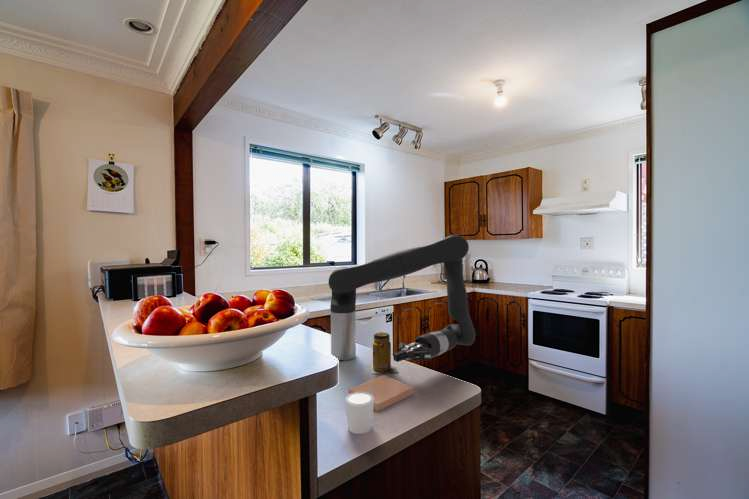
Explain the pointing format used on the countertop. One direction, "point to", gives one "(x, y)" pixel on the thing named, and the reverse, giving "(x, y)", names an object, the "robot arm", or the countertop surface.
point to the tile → (384, 391)
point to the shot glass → (359, 412)
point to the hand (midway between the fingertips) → (395, 357)
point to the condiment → (382, 354)
